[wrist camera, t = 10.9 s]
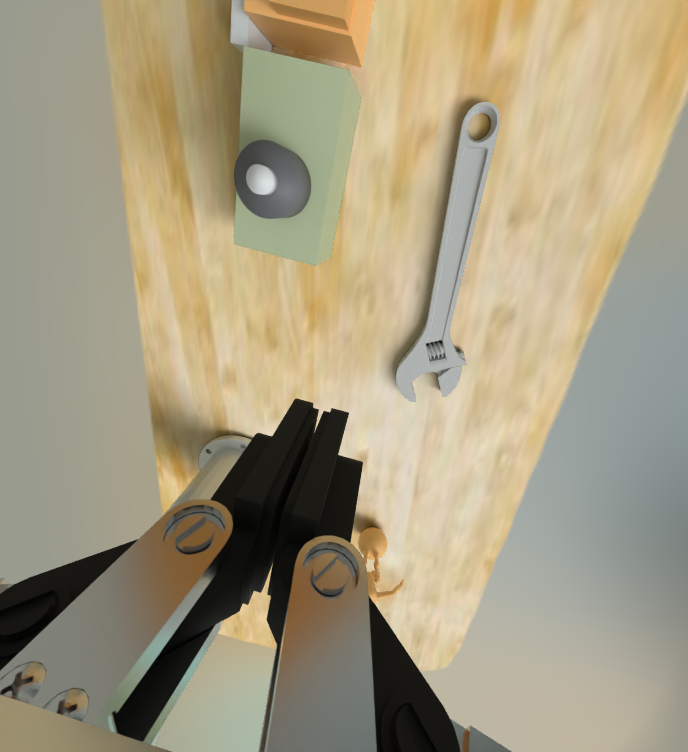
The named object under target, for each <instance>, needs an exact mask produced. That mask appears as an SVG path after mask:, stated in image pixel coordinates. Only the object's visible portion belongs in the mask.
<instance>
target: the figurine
mask: <svg viewBox="0 0 688 752" xmlns="http://www.w3.org/2000/svg"><path fill="white" fill-rule="evenodd" d="M358 545H359V549H360V551H361V553H362V554H363V555H364V558H363V559H364V561H365V565H366V563H367V558H368V559H372V560H375V561H374V567H375V571H372V572H371V573H370V572H367V577H368V595H369V596H370V598H371V599H372V601H373V602H376V601H379V600H381V599H384V598H388V597H391V596H394V595H395V594H396V592H397V591H398V590H400V588H401V587H402V585H403V580H402V581H401V582H400V584H399V585H398V586H396V587H395V588H394V589H393V591H386V592H380V593H379V592H377V591H376V588H375V584H374V581H375V582H376V583H379V581H380V573H379V571H378V568H379V561H378V558H380V557H382V556H383V555H384V553H385V551H386V549H387V539H386V537H385V535H384V533H383V532H382V531H381V530H379V529H378V528H374V527H370V528H367V529H365V530H364V531H363V532H362V533H361V534H360V537H359V541H358Z"/></svg>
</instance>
